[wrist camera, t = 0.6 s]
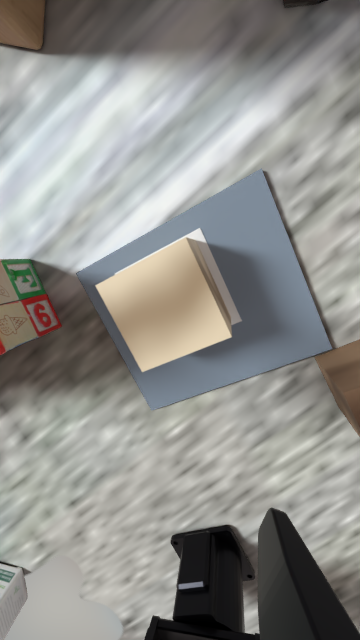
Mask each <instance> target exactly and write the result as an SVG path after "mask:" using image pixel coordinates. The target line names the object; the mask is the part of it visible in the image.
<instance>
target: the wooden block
mask: <svg viewBox="0 0 360 640" xmlns="http://www.w3.org/2000/svg"><path fill="white" fill-rule="evenodd" d="M44 14H45V0H0V43H4V44H9V45H14V46H20V47H25V48H30V49H35V50H38V49H41V47H42V44H43V30H44Z"/></svg>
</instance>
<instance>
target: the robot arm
mask: <svg viewBox="0 0 360 640" xmlns="http://www.w3.org/2000/svg"><path fill="white" fill-rule="evenodd" d="M171 544H172V546H173V548H174V549H175V551H176V553H177V554H178V556H179V558H180V566H179V572H178V579H177V592H176V598H175V605H174V612H173V620H174V621H173V620H167V619H161V618H160V617H159V616H153V617H152V620H151V623H150V627H149V628H148V630H147V633H146V636H145V640H360V633H359V632H358V630H357V628H356V627H355V625H354V624H353V622H352V620H351V619H350V617H349V615H348V614H347V612H346V610H345V609H344V607H343V606H342V604H341V602H340V601H339V599H338V597H337V596H336V594H335V593H334V591H333V589H332V588H331V586H330V584H329V583H328V581H327V579H326V578H325V576H324V575H323V573H322V571H321V570H320V568H319V566H318V565H317V563H316V561H315V560H314V558H313V557H312V555H311V553H310V552H309V550H308V548H307V547H306V545H305V544H304V542H303V540H302V539H301V537H300V535H299V534H298V532H297V530H296V529H295V527H294V526H293V524H292V522H291V521H290V519H289V517H288V516H287V515H286V513H284V512H283V511H280V510H277V509H275V508H270V509H269V510H268V511H267V513H266V515H265V517H264V519H263V521H262V524H261V526H260V528H259V533H258V616H259V631H260V634H258V633H255V635H254V634H248V633H245V624H244V602H243V581H248V580H254V579H255V572H254V570H253V568H252V566H251V564H250V562H249V560H248V559H247V557H246V555H245V553H244V551H243V549H242V547H241V546H240V544H239V542H238V540H237V538H236V536H235V534H234V533H233V531H232V529H231V528H230V527H228V526H222V527H217V528H211V529H206V530H200V531H194V532H189V533H183V534H178V535H173V536H172V538H171Z"/></svg>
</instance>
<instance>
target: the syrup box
mask: <svg viewBox="0 0 360 640" xmlns="http://www.w3.org/2000/svg"><path fill="white" fill-rule="evenodd" d="M26 599H27V588H26V583H25V579H24V574H23V570H22V568H20V567H17V568H16V567H12V566H9V565H5V564H1V563H0V640H4V639H5V637H6V635H7V633H8V631H9V630H10V628H11V626H12V624H13V623H14V620H15V619H16V617H17V616H18V614H19V612H20V610H21V608H22V607H23V605H24V603H25V601H26Z"/></svg>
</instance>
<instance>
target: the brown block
mask: <svg viewBox="0 0 360 640" xmlns="http://www.w3.org/2000/svg"><path fill="white" fill-rule="evenodd" d="M315 359H316V361H317V363H318V365H319V368H320V370H321V372H322V374H323V376H324V378H325V380H326V382H327V384H328V386H329V388H330V390H331V392H332V394H333V396H334V399H335V401H336V403H337V405H338V407H339V408H340V410H341V411H342V412H343V414H344V415H345V417H346V418H347V420H348V421H349V422H350V424H351V425H352V427H353V428H354V430H355V431H356V432H357V434H358V435H359V437H360V340H357V341H355V342H352V343H349V344H347V345H344V346H342V347H339V348H337V349H334V350H332V351H329V352H326V353H324V354H321V355H319V356H316V357H315Z"/></svg>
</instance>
